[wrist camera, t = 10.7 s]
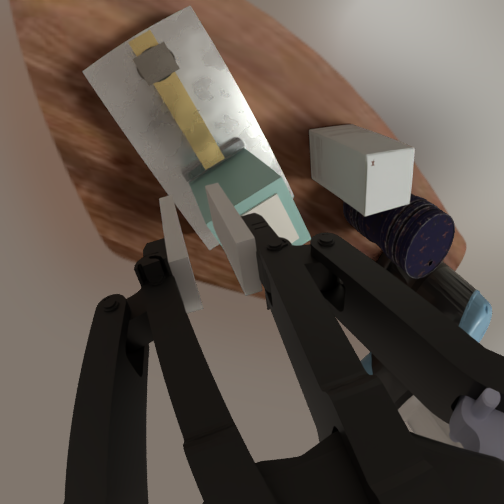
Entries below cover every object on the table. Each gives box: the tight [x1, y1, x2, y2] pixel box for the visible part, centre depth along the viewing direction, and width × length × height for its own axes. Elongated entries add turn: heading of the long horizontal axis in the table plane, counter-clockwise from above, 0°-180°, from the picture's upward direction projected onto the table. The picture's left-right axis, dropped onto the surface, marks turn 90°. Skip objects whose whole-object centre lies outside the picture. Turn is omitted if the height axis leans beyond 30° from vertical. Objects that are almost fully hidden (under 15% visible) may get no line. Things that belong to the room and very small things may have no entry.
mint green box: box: [189, 149, 311, 246], centre depth 30 cm, size 7×7×10 cm
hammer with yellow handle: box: [128, 30, 225, 170], centre depth 25 cm, size 3×14×5 cm, turn 26°
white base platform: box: [82, 6, 294, 250], centre depth 32 cm, size 25×12×6 cm, turn 28°
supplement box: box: [309, 124, 415, 216], centre depth 36 cm, size 7×7×13 cm
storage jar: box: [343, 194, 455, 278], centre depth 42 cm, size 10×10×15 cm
